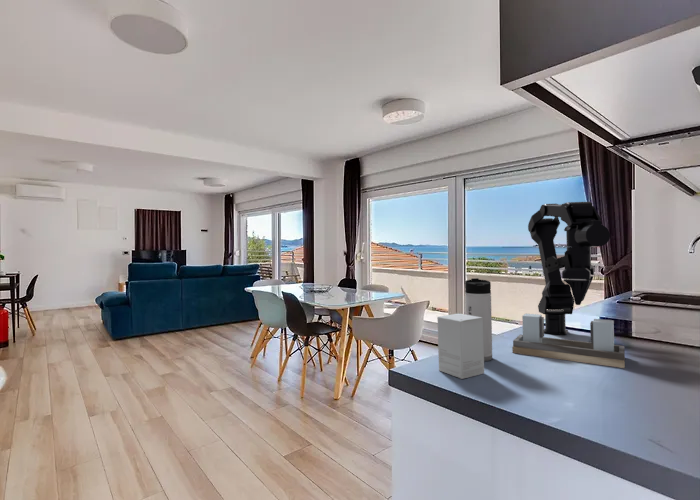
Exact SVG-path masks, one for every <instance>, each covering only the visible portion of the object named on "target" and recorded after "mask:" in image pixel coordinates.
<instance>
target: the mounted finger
mask: <svg viewBox="0 0 700 500" xmlns="http://www.w3.org/2000/svg"><path fill="white" fill-rule="evenodd" d="M521 317H522V335H523V341H527V342H535V343H542V338H543V337H545V333H544V329H545V318H544V317H545V316H542V314H537V313H535V314H534V313H524V314H523V315H522V316H521Z"/></svg>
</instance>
